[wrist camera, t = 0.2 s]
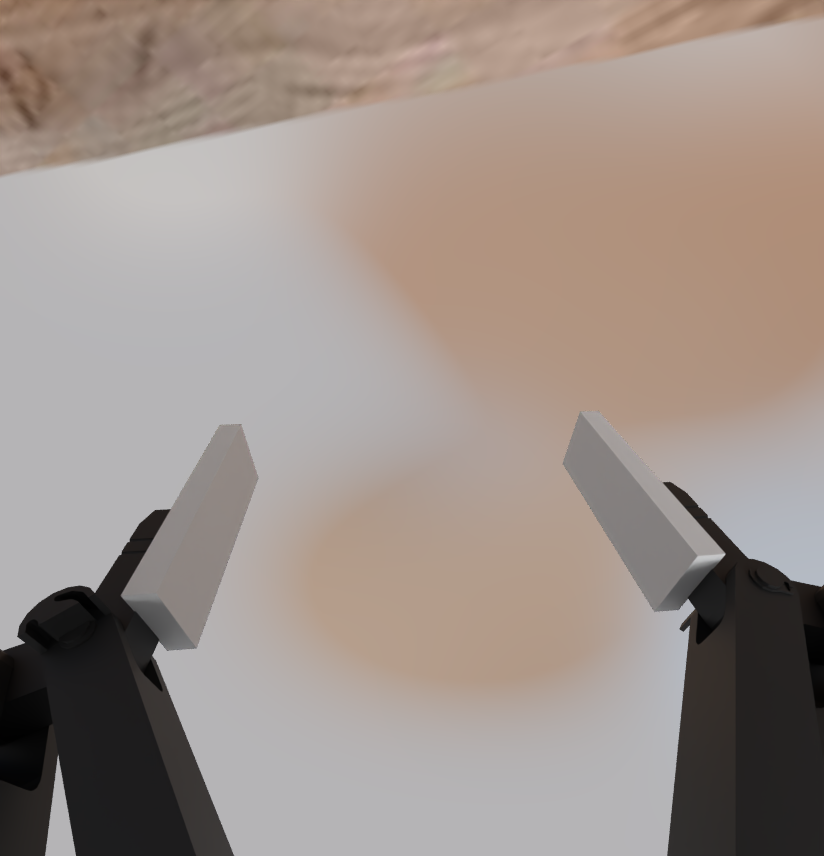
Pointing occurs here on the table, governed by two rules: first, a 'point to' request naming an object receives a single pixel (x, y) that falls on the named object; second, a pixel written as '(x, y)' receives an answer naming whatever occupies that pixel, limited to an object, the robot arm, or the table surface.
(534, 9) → the table surface
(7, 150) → the table surface
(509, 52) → the table surface
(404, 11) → the table surface
